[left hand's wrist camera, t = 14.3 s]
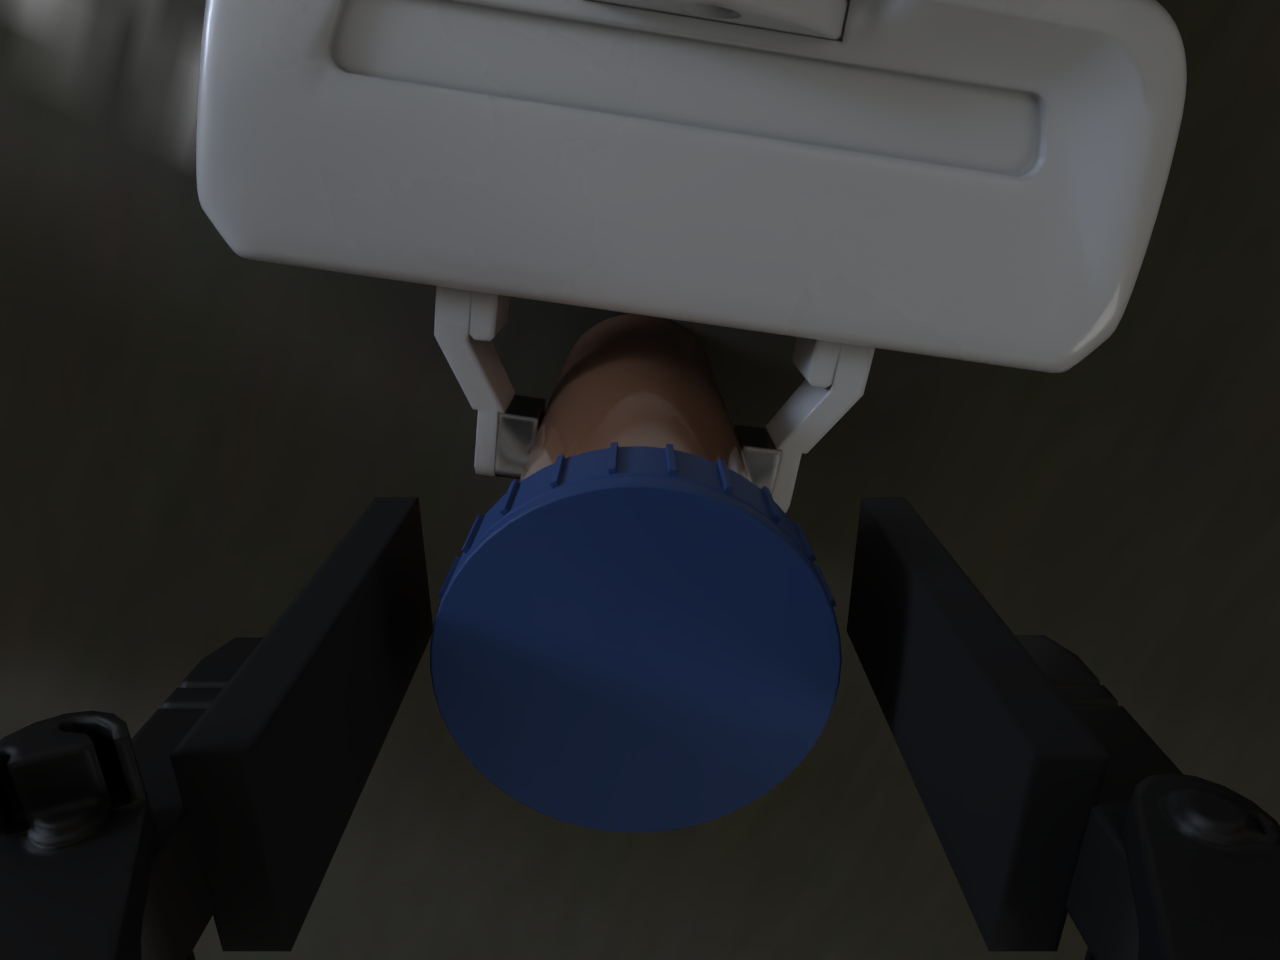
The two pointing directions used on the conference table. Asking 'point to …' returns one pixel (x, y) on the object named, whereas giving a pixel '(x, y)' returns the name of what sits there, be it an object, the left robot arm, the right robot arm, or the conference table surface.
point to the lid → (635, 641)
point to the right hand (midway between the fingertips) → (633, 487)
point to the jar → (636, 396)
